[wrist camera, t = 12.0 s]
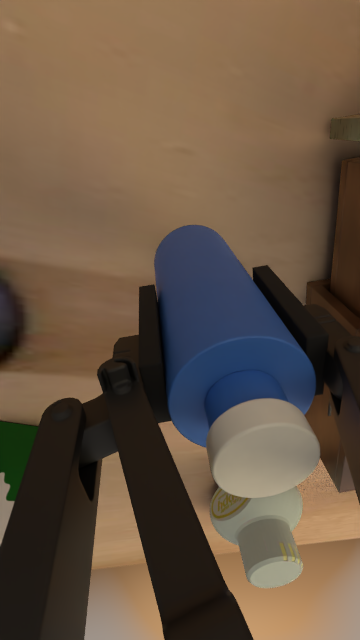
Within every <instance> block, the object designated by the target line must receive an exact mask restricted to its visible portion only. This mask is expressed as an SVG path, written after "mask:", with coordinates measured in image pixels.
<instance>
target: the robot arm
mask: <svg viewBox="0 0 360 640" xmlns="http://www.w3.org/2000/svg"><path fill="white" fill-rule="evenodd" d="M253 281H254V283H255V284H256V285H257V287H258V288H259V290H260V291H261V292H262V294H263V295H264V297H265V298H266V299H267V301H268V302H269V304H270V305H271V306H272V308H273V309H274V311H275V312H276V313H277V315H278V316H279V318H280V319H281V320H282V322H283V323H284V325H285V326H286V327H287V329H288V330H289V332H290V333H291V334H292V336H293V337H294V339H295V340H296V341H297V343H298V344H299V346H300V347H301V348H302V350H303V351H304V353H305V354H306V355H307V357H308V358H309V360H310V362H311V363H312V365H313V368H314V371H315V376H316V390H315V395H314V396H316V395H321V394H323V390H324V382H325V384H326V385H327V387H328V388H329V390H330V394H329V403H328V416H331V411H332V412H333V415H334V419H335V422H336V426H337V429H338V432H339V436H340V439H341V442H342V446H343V449H344V453H345V456H346V459H347V463H348V466H349V470H350V473H351V476H352V480H353V483H354V487H355V490H356V493H357V497H358V500H359V503H360V337H359V336H352V335H351V334H350V333H349V332H348V331H347V330H346V329H345V328H344V327H343V326H342V325H341V324H340V323H339V322H338V321H336V319H335V318H334V317H333V316H331V314H330V313H329V312H328V311H327V310H326V309H325V308H323V307H321V306H319V305H317V304H311V305H305V306H303V305H302V304H301V302H300V301H299V300H298V299H297V298H296V297H295V296H294V295H293V293H292V292H291V291H290V290H289V289H288V288H287V287H286V286H285V284H284V283H283V282H282V281H281V280H280V279H279V278H278V277H277V275H276V274H275V273H274V272H273V271H272V270H271V269H270V268H269V267H268V265H266V266H260V267H254V268H253ZM97 376H98V379H99V382H100V385H101V388H102V391H103V394H101V395H100V396H99V397H97V398H95V399H93V400H91V401H88V402H86V403H83V404H82V403H81V402H80V401H79V400H78V399H75V398H64V399H61V400H58V401H56V402H55V403H53V404H51V405H50V406H49V407H48V408H47V409H46V410H45V412H44V413H43V415H42V418H41V421H40V424H39V427H38V430H37V434H36V437H35V440H34V443H33V446H32V449H31V452H30V455H29V458H28V462H27V465H26V468H25V471H24V474H23V477H22V480H21V483H20V486H19V490H18V493H17V496H16V499H15V502H14V505H13V508H12V511H11V514H10V518H9V521H8V524H7V527H6V530H5V533H4V536H3V539H2V543H1V546H0V640H84V636H85V625H86V616H87V606H88V595H89V585H90V576H91V566H92V556H93V546H94V536H95V526H96V516H97V506H98V496H99V486H100V476H101V466H102V458H104V457H107V456H109V455H111V454H113V453H115V452H117V451H118V452H119V456H120V460H121V464H122V468H123V472H124V476H125V480H126V484H127V488H128V491H129V495H130V499H131V503H132V507H133V511H134V515H135V519H136V523H137V527H138V531H139V534H140V538H141V542H142V546H143V550H144V554H145V558H146V562H147V565H148V570H149V574H150V577H151V581H152V585H153V589H154V593H155V597H156V601H157V605H158V609H159V612H160V617H161V621H162V627H163V634H164V639H165V640H253V637H252V635H251V633H250V630H249V628H248V626H247V623H246V621H245V619H244V616H243V614H242V612H241V610H240V607H239V606H238V603H237V601H236V599H235V597H234V596H233V594H232V593H231V592H230V591H229V590H228V587H227V585H226V583H225V581H224V579H223V576H222V574H221V572H220V569H219V567H218V565H217V562H216V560H215V557H214V555H213V553H212V550H211V548H210V546H209V543H208V541H207V538H206V536H205V534H204V531H203V529H202V527H201V524H200V522H199V519H198V517H197V515H196V512H195V510H194V508H193V505H192V503H191V500H190V498H189V496H188V493H187V491H186V489H185V486H184V484H183V481H182V479H181V477H180V474H179V472H178V470H177V467H176V465H175V462H174V460H173V458H172V455H171V453H170V451H169V448H168V446H167V444H166V441H165V439H164V436H163V434H162V432H161V429H160V427H159V425H158V423H161V422H167V421H172V420H171V418H170V415H169V412H168V404H167V394H166V383H165V372H164V362H163V351H162V340H161V330H160V319H159V309H158V301H157V296H156V291H155V286H154V285H148V286H142V287H139V335H134V336H128V337H122V338H119V340H118V341H117V342H116V344H115V345H114V351H113V358H112V359H110V360H108V361H106V362H104V363H103V364H102V365H101V366H100V367H99V369H98V371H97Z"/></svg>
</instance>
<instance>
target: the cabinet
mask: <svg viewBox="0 0 360 640" xmlns="http://www.w3.org/2000/svg"><path fill="white" fill-rule="evenodd" d="M330 285H331V279H325V280H319V281H313V282H308V283H307V297H306V305H311V304H317V305H319V306H321V307H323V308H325V309H326V310H327V311H328V312H329V313H330V314H331V316H333V317H334V318H335V319H336V321H338V322H339V323H340V324H341V325H342V326H343V327H344V328H345V329H346V330H347V331H348V332H349V333H350V334H351V335H352V336H359V337H360V319H359V318H358V317H357V316H356V315H355V314H353V313H352V312H351V311H350V310H349V309H348V308H347V307H346V306H345V305H343V304H342V303H341V302H340V301H339V300H338V299H337V298H336V297H334V296H333V295H332V294H331V293H330ZM329 394H330V390H329V388H328V387H327V385H326V384H325V382H324V390H323V394H321V395H316V396H314V398H313V401H312V403H311V405H310V407H309V409H308V411H307V412H306V414H305V415H304V416H305V417H306V419H307V421H308V423H309V425H310V426H311V428H312V430H313V432H314V434H315V435H316V437H317V439H318V441H319V444H320V458H321V460H322V462H323V464H324V466H325V467H326V469H327V471H328V473H329V475H330V477H331V479H332V480H333V482H334V483H335V486H336V488H337V490H338V492H339V493H341V492H347V491H352V490H355V487H354V483H353V480H352V476H351V473H350V470H349V466H348V463H347V459H346V456H345V453H344V449H343V446H342V442H341V439H340V436H339V432H338V429H337V426H336V422H335V419H334V415H333V412H332V411H331V416H328V403H329Z"/></svg>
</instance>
